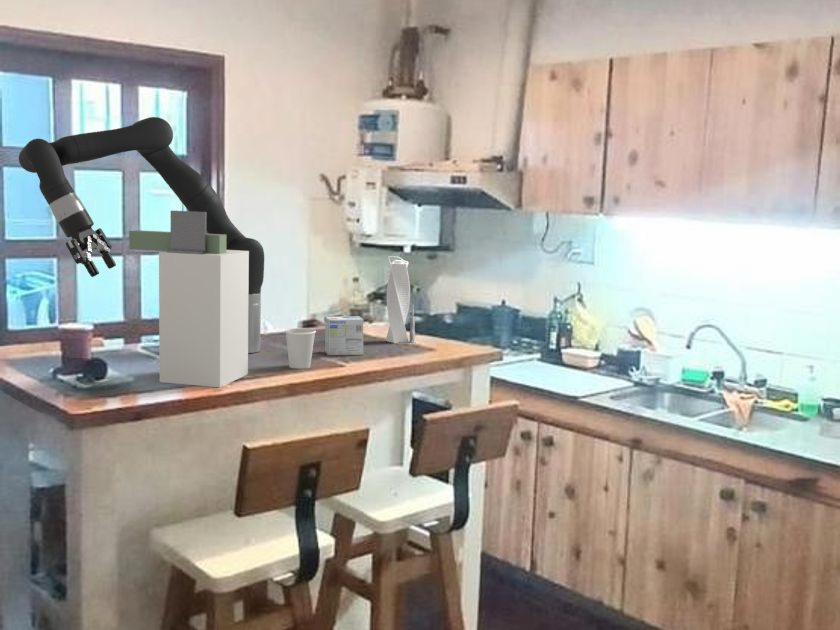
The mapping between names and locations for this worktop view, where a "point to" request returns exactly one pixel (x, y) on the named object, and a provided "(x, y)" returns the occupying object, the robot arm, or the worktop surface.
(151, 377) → the worktop surface
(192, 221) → the bookend
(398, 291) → the skyscraper
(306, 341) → the dixie cup
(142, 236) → the green bar
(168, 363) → the tall white pillar
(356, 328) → the light bulb box
